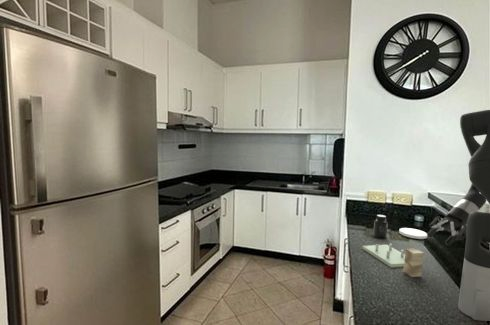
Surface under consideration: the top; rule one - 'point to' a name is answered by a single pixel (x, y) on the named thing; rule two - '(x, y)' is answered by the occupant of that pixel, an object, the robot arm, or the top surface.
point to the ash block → (413, 262)
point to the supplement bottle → (380, 227)
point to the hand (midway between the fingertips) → (437, 240)
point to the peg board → (387, 254)
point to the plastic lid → (413, 233)
